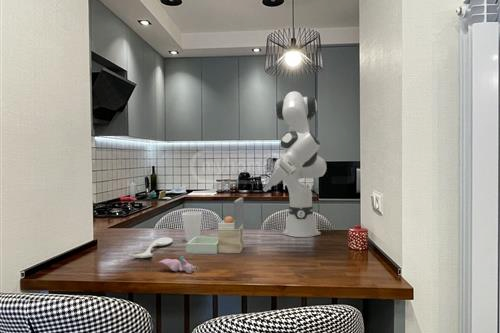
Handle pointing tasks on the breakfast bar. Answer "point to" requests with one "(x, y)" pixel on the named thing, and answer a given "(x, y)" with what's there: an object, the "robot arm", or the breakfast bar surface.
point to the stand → (230, 241)
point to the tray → (202, 245)
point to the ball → (228, 219)
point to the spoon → (157, 242)
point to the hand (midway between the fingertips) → (265, 189)
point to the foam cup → (192, 224)
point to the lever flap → (235, 217)
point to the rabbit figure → (179, 265)
